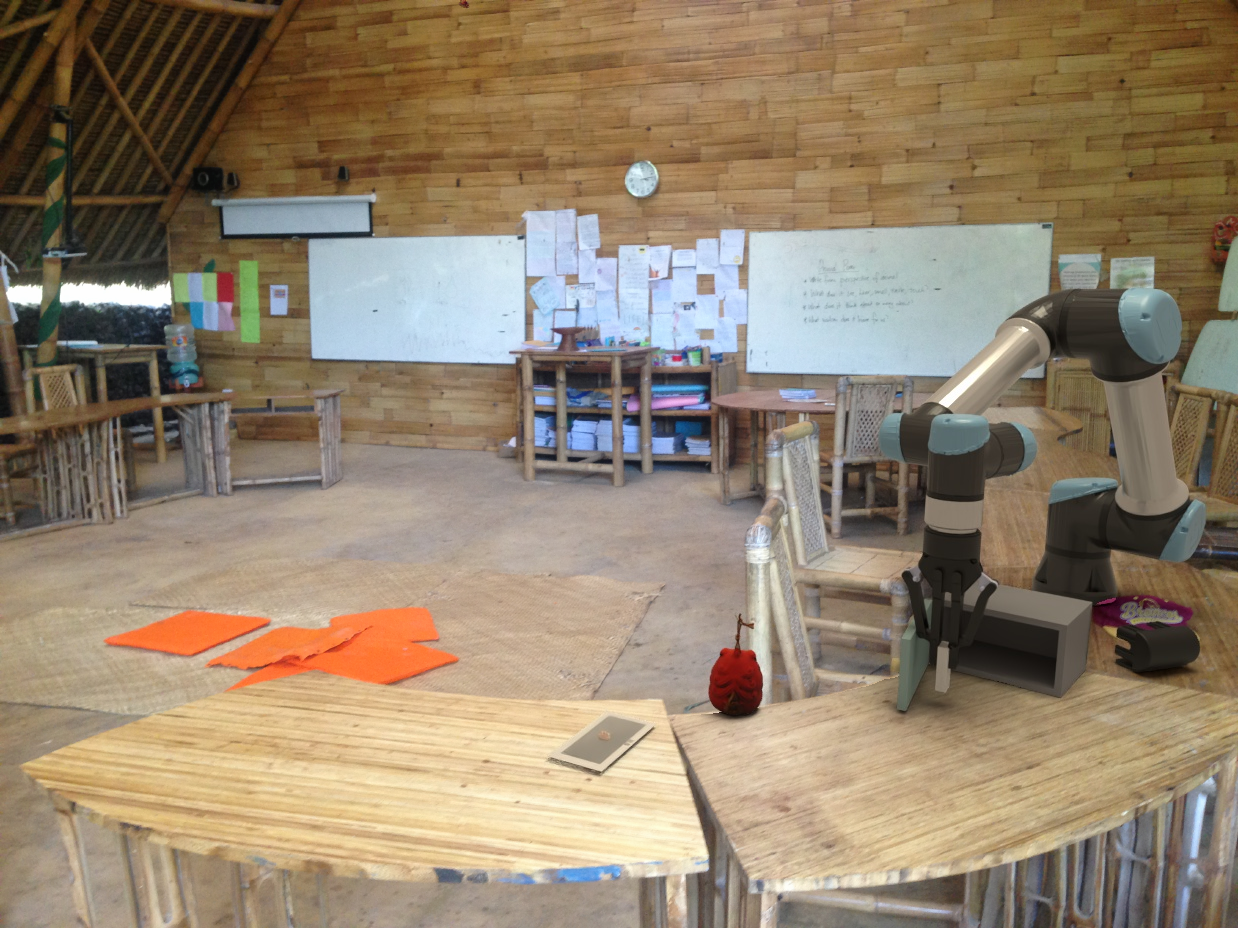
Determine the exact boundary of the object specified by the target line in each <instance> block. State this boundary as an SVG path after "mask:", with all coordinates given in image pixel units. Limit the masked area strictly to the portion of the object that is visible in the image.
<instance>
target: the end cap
mask: <svg viewBox="0 0 1238 928" xmlns="http://www.w3.org/2000/svg"><path fill="white" fill-rule="evenodd" d="M1146 626H1147V627H1150V628H1151V629H1146V628H1143V627H1140V626H1138V625H1134V624H1131V623H1130V624H1126V625H1125V624H1123V625H1119V626H1118V627H1117V628H1116V633H1115V638H1117V639H1120V640H1122V641H1125V642H1127V643H1129V647H1130V648H1126V647H1124V646H1122V645H1120V644H1115V645H1114V654H1115V655H1116V656H1118V657H1119V658H1115V660H1114V662H1115V664H1116V665H1118V666H1120V667H1123V668H1125V669H1127V670H1129V671H1131V672H1134V673H1145V672H1152V671H1158V670H1166V669H1172V668H1179V667H1184V666H1186V665H1188V664H1191V663H1193V662H1195V661H1196V660H1197V659H1198V657H1199V655H1200V652H1201V644H1200V640H1199V638H1198V635H1197V634H1196V632H1195V631H1194V630H1193V629H1192V628H1191V627H1189V626H1187V625H1185V624H1184V625H1174V626H1172V625H1170V624H1168V623H1164V622H1163V621H1159V620H1156V621H1149V622H1146Z"/></svg>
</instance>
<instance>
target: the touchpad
mask: <svg viewBox="0 0 1238 928" xmlns="http://www.w3.org/2000/svg"><path fill="white" fill-rule="evenodd" d="M657 724H658V723H657V722H654V721H649V720H645V719H641V718H637V717H633V716H629V715H625V714H622V713H618V712H617V713H616V712H614V711H610V710H605V711H603V713H602V714H600V715H599V716H598V717H596V718H595V719H593V720H592V721H591V722H589V723H588V724H586V726H584V727H583V728H582V729H581V730H579V731H577V732H576V733H575V734H574V735H573V736H571V737H570V738H568V739H567V740H566V741H564V742H563V743H562V744H560V746H558V747H557V748H556V749H554V750H553V751H551V752H550V753H549V754H547V757H549V758H552V759H556V760H559V761H563V762H566V763H570V764H573V765H577V766H580V767H583V768H587V769H591V770H594V771H597V772H601V773H602V772H603V771H605V770H606V769H607V768H608V767H609V766H610V765H611V764H613V763H614V762H615V761H616V760H617V759H618V758H619V757H620V756H622V755H623V754H624V753H625V752H626V751H627V750H628V749H630V748H631V746H633V745H634V744H635V743H636V742H638V741H639V740H640V739H641V738H642V737H644V735H646V734H647V733H648V732H649V731H650V730H651V729H653V728H654V727H655V726H656V725H657Z"/></svg>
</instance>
